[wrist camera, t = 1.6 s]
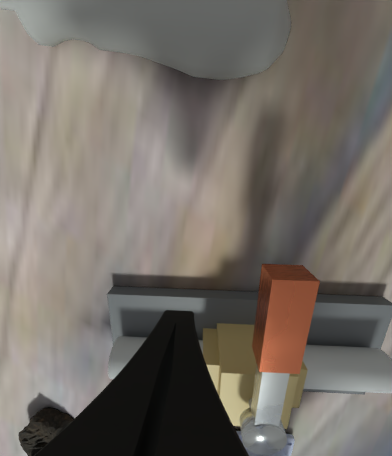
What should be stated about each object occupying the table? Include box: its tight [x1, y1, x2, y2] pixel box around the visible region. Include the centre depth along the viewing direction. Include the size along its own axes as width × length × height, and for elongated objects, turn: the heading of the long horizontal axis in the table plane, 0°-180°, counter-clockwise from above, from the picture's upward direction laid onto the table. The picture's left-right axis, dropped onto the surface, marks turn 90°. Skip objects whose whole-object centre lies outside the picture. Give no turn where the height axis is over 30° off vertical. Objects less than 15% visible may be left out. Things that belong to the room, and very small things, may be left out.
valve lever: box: [239, 264, 320, 455], centre depth 11 cm, size 12×3×2 cm, turn 179°
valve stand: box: [107, 286, 392, 429], centre depth 16 cm, size 10×24×6 cm, turn 89°
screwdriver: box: [0, 0, 291, 80], centre depth 11 cm, size 5×25×4 cm, turn 81°
